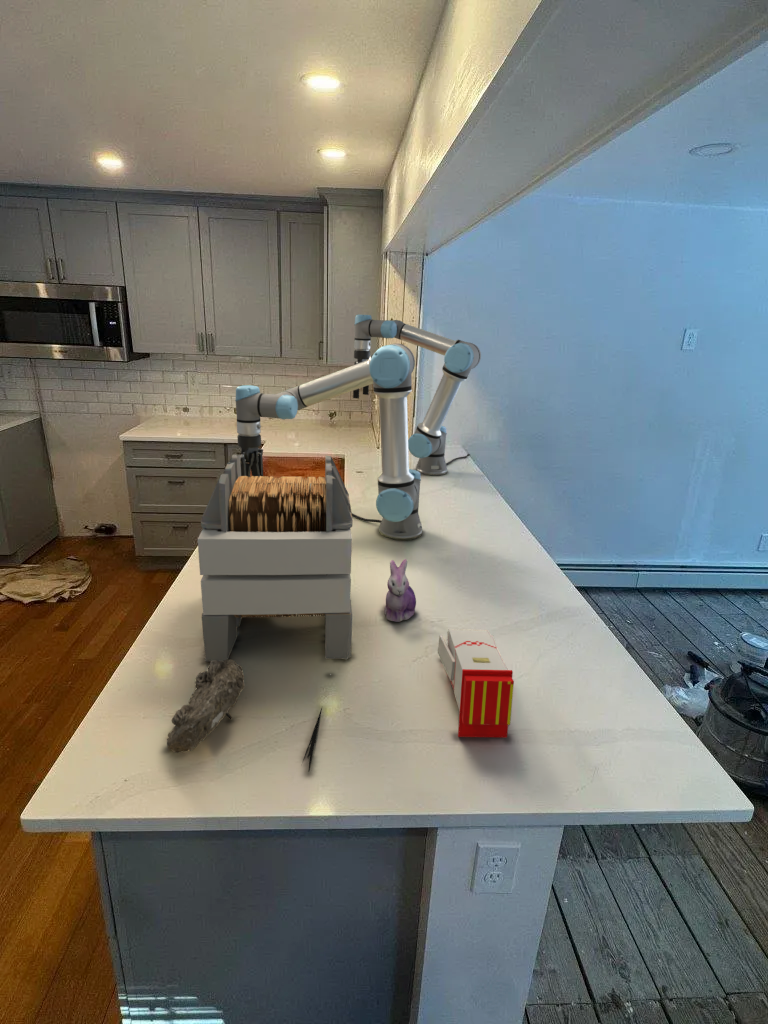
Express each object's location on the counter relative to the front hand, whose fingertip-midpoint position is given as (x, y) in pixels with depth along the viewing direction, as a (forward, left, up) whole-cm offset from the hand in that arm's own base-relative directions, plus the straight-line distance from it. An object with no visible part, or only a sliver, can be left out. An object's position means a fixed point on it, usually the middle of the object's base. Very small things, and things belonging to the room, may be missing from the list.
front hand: (251, 501), depth 193 cm
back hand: (-46, +83, +24) cm, 97 cm away
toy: (+105, -7, -11) cm, 106 cm away
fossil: (+80, -52, -11) cm, 96 cm away
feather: (+93, -36, -11) cm, 100 cm away
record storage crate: (+58, -23, -11) cm, 64 cm away
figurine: (+73, +3, -11) cm, 73 cm away
